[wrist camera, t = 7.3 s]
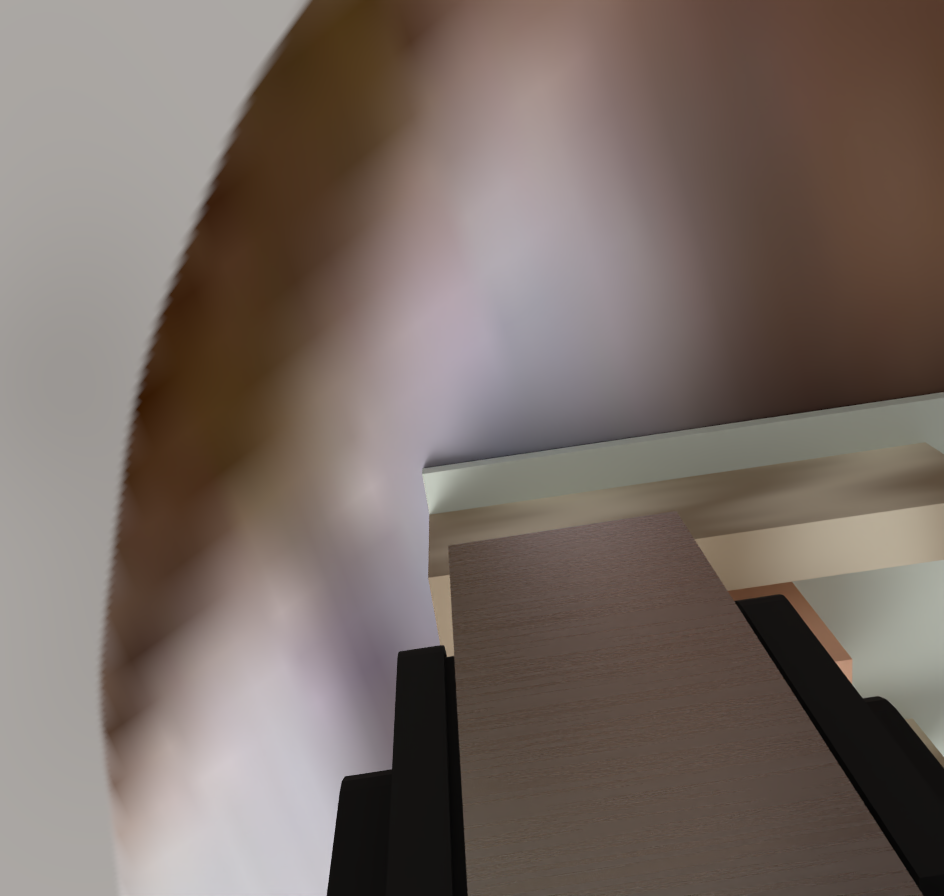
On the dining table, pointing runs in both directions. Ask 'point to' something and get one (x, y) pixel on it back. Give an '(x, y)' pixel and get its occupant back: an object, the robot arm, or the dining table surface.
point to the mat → (752, 445)
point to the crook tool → (639, 730)
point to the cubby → (747, 521)
